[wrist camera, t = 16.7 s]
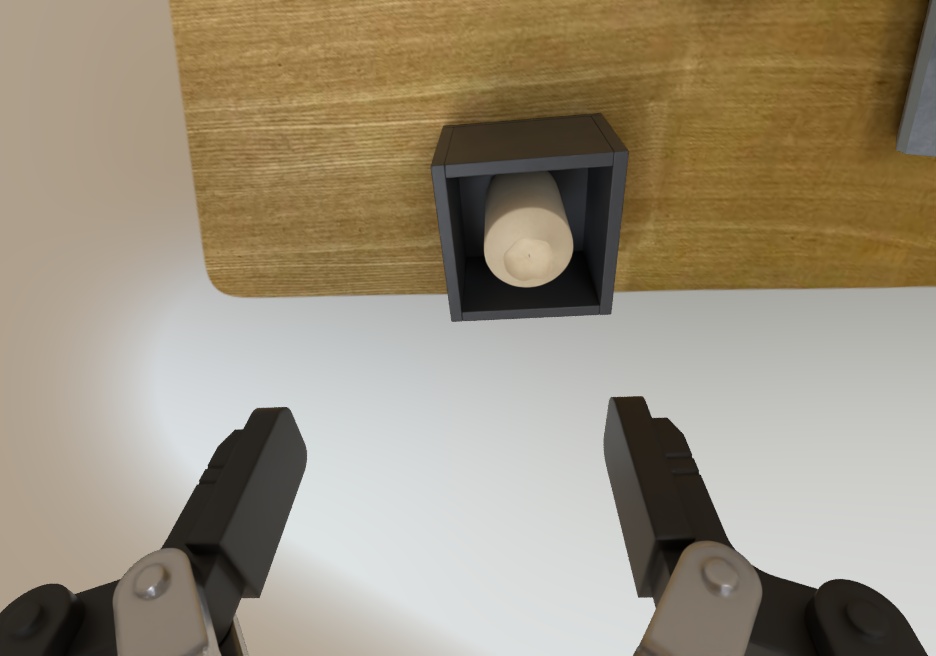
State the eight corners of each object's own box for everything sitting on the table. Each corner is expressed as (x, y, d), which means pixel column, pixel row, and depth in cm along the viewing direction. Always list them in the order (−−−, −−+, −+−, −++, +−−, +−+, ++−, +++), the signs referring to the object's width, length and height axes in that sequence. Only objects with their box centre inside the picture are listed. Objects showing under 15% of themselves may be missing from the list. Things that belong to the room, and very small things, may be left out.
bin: (458, 262, 41) (451, 322, 34) (443, 125, 34) (430, 165, 28) (591, 254, 40) (611, 314, 33) (601, 112, 33) (629, 150, 27)
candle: (526, 144, 34) (536, 198, 26) (573, 199, 37) (595, 264, 29) (470, 195, 37) (464, 258, 29) (517, 243, 39) (523, 314, 31)
